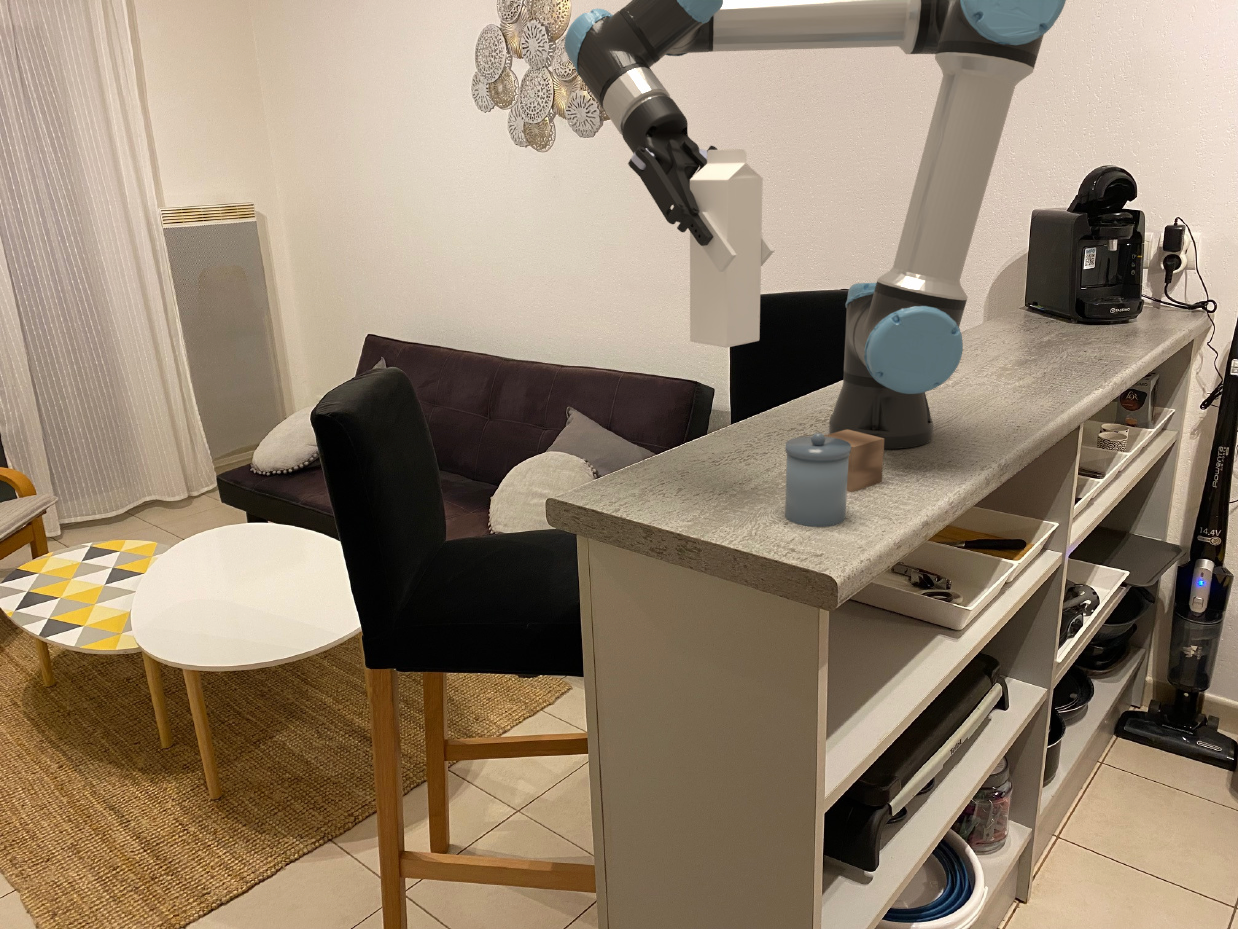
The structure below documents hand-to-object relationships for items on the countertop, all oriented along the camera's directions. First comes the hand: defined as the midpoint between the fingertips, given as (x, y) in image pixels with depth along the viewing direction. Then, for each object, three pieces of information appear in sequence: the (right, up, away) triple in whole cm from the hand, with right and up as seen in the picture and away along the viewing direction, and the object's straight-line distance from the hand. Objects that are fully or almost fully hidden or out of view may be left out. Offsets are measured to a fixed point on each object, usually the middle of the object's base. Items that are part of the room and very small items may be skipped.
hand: (747, 260), depth 110 cm
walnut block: (+15, -26, +15) cm, 33 cm away
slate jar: (+8, -30, +3) cm, 31 cm away
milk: (-2, -9, +5) cm, 11 cm away
